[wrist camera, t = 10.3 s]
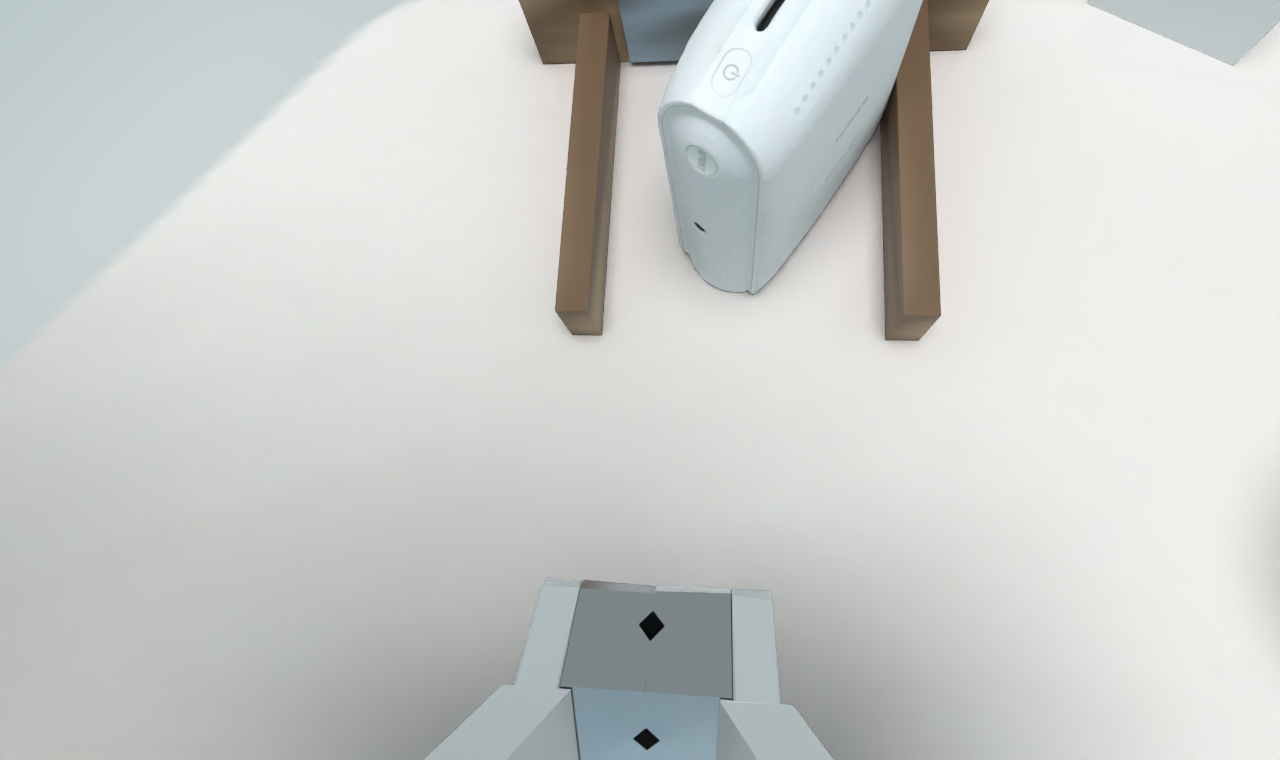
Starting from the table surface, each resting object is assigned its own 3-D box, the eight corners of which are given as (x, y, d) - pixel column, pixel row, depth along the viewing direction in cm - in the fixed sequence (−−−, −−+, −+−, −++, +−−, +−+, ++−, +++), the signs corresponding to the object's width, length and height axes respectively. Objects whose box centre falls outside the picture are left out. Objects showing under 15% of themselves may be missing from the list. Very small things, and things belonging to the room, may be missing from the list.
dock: (517, 333, 29) (453, 268, 22) (545, 40, 32) (496, -95, 26) (982, 341, 27) (1066, 271, 20) (964, 24, 30) (1032, -129, 23)
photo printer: (754, 317, 28) (772, 146, 16) (665, 261, 29) (620, 61, 17) (895, 118, 29) (1007, -177, 18) (805, 71, 30) (854, -239, 18)
